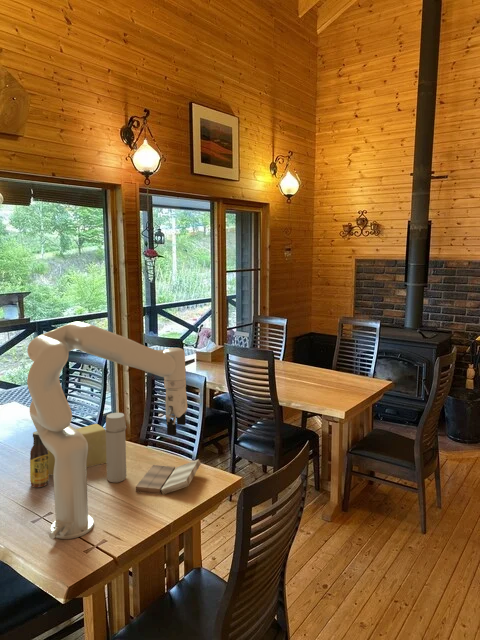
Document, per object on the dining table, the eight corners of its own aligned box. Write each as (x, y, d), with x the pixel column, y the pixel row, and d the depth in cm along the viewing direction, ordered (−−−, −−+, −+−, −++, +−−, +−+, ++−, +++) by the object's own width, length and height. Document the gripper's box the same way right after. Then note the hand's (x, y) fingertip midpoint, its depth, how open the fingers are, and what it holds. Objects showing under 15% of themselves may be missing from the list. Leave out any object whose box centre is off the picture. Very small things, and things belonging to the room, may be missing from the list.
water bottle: (122, 484, 176) (120, 419, 173) (102, 482, 178) (100, 417, 174) (132, 473, 185) (131, 411, 182) (113, 471, 186) (112, 410, 183)
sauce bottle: (35, 490, 171) (32, 437, 169) (27, 484, 175) (24, 433, 173) (52, 484, 176) (50, 432, 173) (44, 478, 180) (42, 428, 178)
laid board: (159, 494, 169) (159, 488, 169) (135, 491, 171) (135, 486, 170) (174, 471, 187) (174, 466, 187) (153, 469, 188) (152, 464, 188)
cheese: (52, 479, 179) (50, 441, 177) (44, 470, 187) (42, 434, 185) (108, 463, 194) (106, 428, 192) (97, 455, 201) (96, 421, 199)
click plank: (188, 485, 167) (185, 480, 167) (163, 494, 169) (161, 489, 169) (200, 463, 185) (198, 459, 184) (178, 471, 187) (176, 467, 186)
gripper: (176, 391, 158) (178, 439, 161) (192, 377, 175) (194, 421, 178) (155, 389, 160) (157, 438, 163) (173, 376, 177) (175, 420, 179)
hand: (176, 429), depth 170 cm, fingers open, 9 cm apart
